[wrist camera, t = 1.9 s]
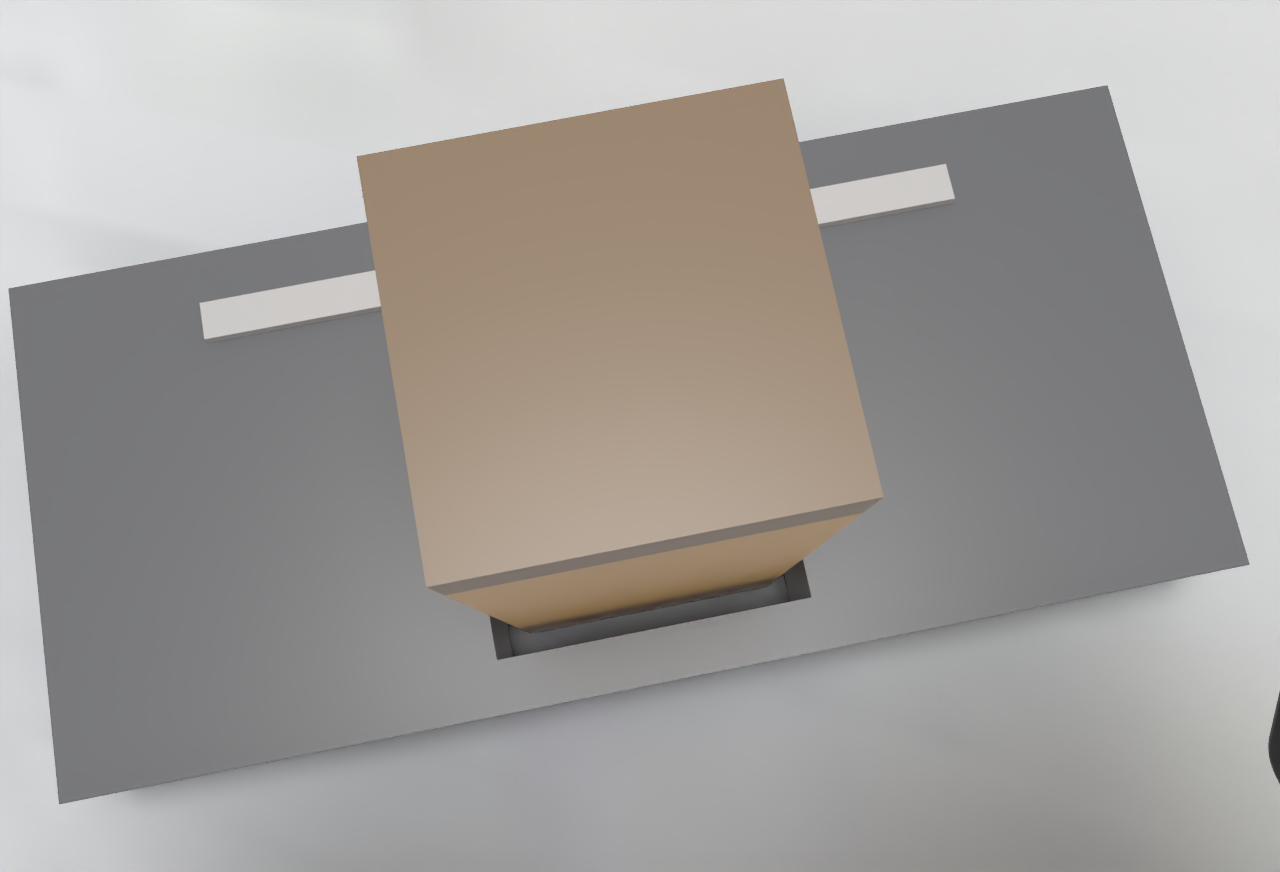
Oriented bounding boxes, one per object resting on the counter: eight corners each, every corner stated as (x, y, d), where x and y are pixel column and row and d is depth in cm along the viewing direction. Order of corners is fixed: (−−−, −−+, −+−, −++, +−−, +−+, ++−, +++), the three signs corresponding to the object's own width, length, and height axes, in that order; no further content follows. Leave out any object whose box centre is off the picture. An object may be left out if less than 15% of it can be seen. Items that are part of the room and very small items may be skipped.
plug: (766, 586, 20) (884, 497, 10) (530, 633, 20) (426, 587, 10) (717, 359, 21) (783, 78, 11) (489, 402, 21) (357, 156, 11)
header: (1177, 578, 21) (1256, 563, 18) (129, 789, 20) (52, 805, 17) (1055, 150, 22) (1112, 79, 20) (79, 333, 22) (1, 284, 19)
